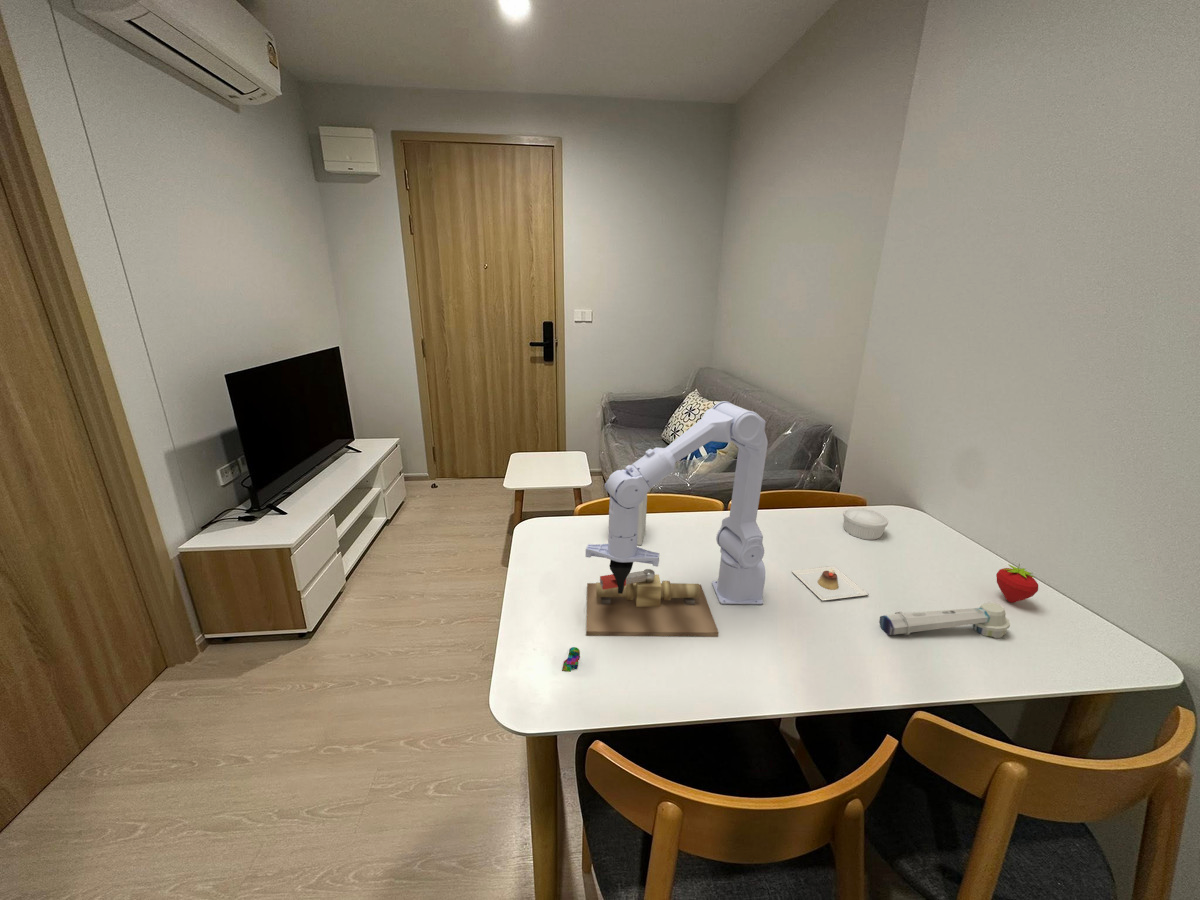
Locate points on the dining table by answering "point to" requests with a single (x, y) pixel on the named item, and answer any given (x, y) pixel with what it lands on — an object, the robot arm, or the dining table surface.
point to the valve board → (649, 610)
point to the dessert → (829, 580)
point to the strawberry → (1016, 584)
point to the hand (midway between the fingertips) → (620, 590)
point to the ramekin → (864, 523)
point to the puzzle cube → (571, 660)
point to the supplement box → (642, 520)
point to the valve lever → (634, 577)
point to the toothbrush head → (949, 620)
